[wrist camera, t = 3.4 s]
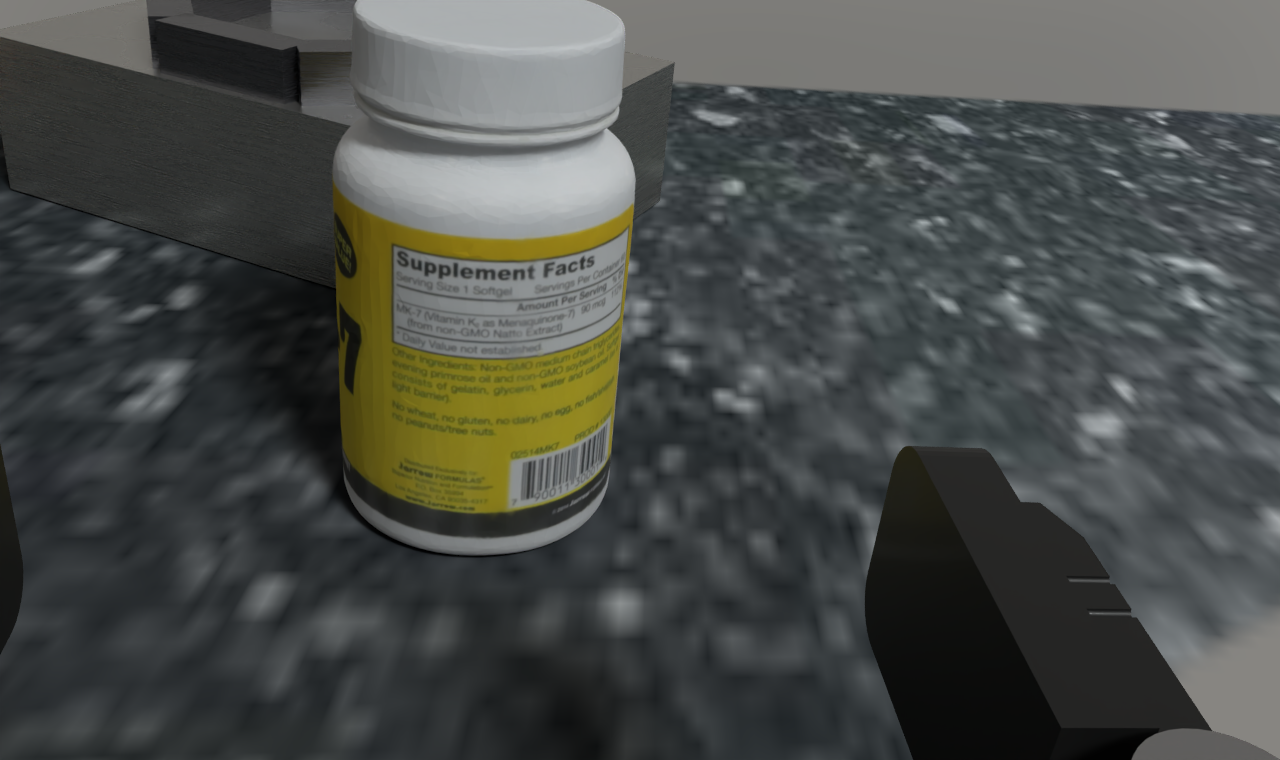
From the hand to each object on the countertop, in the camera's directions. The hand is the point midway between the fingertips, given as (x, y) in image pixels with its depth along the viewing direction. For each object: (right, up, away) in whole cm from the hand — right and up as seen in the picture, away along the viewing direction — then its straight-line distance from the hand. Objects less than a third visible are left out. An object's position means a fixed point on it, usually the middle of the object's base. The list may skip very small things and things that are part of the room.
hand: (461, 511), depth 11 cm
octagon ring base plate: (-6, +6, +22) cm, 24 cm away
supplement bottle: (-1, -1, +11) cm, 11 cm away
